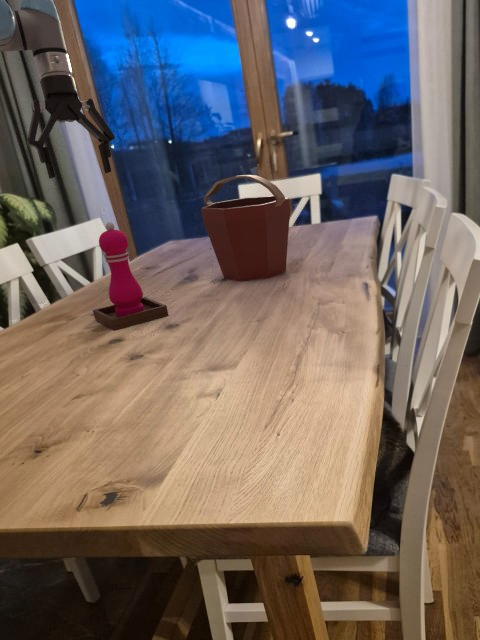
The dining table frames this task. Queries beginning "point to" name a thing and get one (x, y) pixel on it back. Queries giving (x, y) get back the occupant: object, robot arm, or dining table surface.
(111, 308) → the base tray
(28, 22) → the robot arm
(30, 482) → the dining table surface
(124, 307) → the pepper mill
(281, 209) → the bucket
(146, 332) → the dining table surface
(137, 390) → the dining table surface
